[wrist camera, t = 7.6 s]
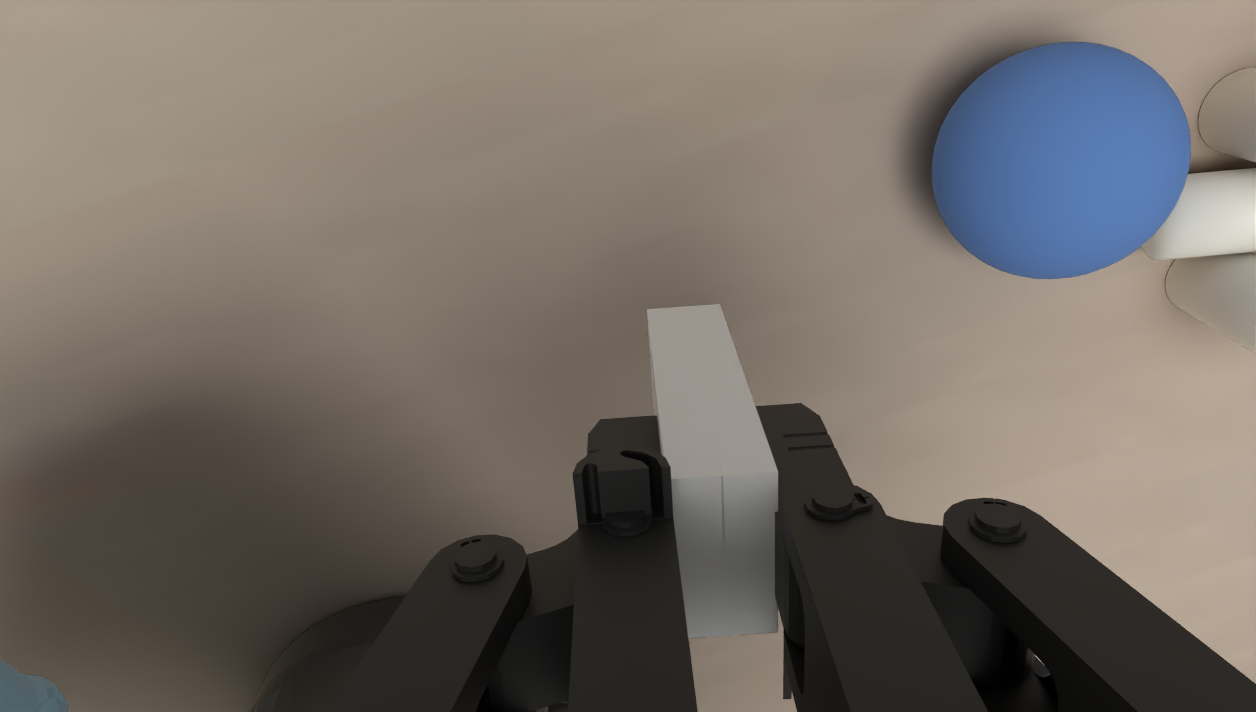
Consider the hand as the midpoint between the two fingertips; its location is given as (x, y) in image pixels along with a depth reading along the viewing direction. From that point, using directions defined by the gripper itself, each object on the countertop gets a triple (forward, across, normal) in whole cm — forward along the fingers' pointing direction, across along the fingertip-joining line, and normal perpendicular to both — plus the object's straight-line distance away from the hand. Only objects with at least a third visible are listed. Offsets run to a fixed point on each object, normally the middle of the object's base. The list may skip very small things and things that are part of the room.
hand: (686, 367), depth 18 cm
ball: (+6, -10, -2) cm, 12 cm away
